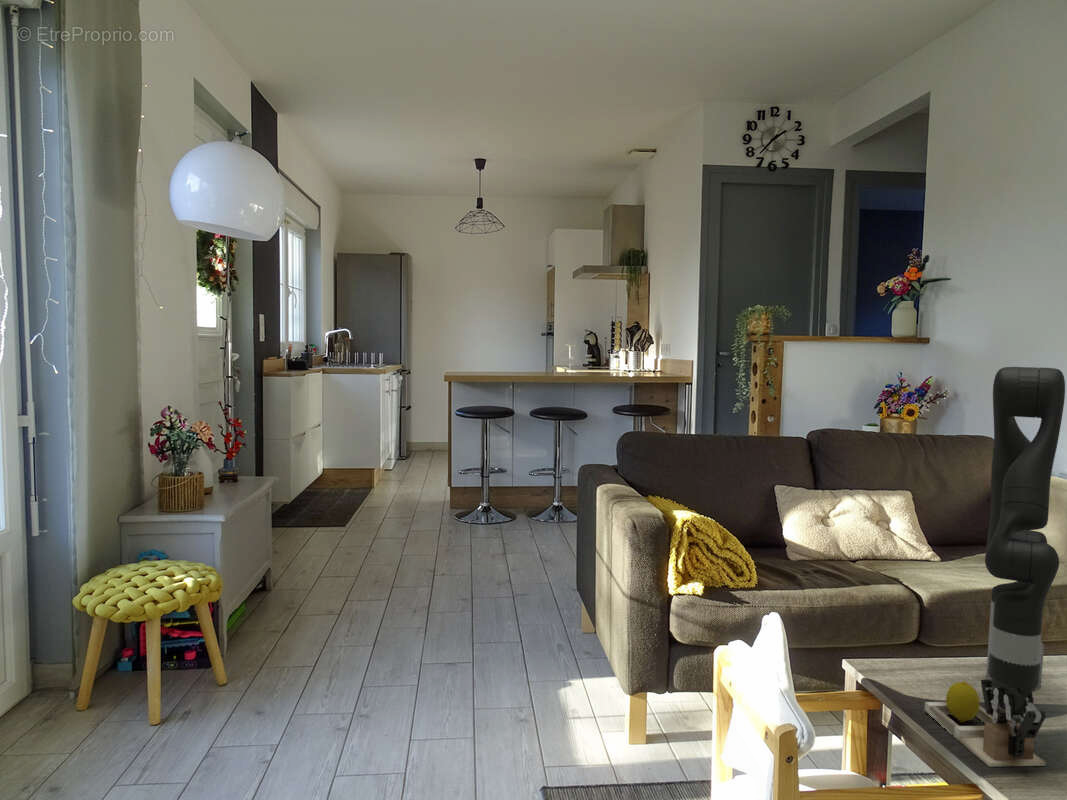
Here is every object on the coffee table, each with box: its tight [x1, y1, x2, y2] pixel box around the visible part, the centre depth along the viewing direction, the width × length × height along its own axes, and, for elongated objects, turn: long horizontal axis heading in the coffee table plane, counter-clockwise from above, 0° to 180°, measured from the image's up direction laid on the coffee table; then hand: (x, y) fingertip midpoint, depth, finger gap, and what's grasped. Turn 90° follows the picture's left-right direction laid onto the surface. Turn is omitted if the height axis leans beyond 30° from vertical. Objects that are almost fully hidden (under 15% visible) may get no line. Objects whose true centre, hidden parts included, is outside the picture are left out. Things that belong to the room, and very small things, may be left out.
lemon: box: [945, 680, 980, 723], centre depth 147 cm, size 6×6×8 cm
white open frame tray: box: [924, 701, 1046, 767], centre depth 142 cm, size 10×20×6 cm, turn 4°
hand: (1007, 749), depth 135 cm, fingers closed on white open frame tray, 3 cm apart
